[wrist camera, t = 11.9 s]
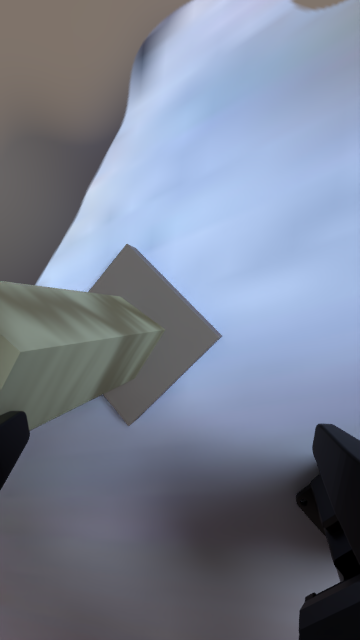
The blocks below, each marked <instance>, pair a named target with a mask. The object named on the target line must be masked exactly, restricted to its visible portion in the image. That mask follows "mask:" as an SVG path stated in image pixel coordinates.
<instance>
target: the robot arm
mask: <svg viewBox="0 0 360 640" xmlns="http://www.w3.org/2000/svg"><path fill="white" fill-rule="evenodd" d="M29 436H30V431H29V426H28V420H27V415H26V413H25V412H24V411H9V412H6V413H4V414H2V415H0V490H1V488H2V487H3V485H4V483H5V481H6V480H7V478H8V476H9V474H10V473H11V471H12V469H13V467H14V465H15V464H16V462H17V460H18V458H19V456H20V455H21V453H22V451H23V449H24V447H25V446H26V444H27V442H28V440H29ZM312 448H313V455H314V458H315V460H316V463H317V466H318V469H319V471H320V475H319V476H317V477H316V478H314V479H313V480H312V481H311V484H310V485H309V486H307V487H306V488H304V489H303V490H301V491H300V492H299V493H297V495H296V502H297V505H298V506H299V507H300V508H301V510H302V511H303V512H304V513H305V514H306V515H307V516H308V517H309V518H310V520H311V521H312V522H313V523H314V524H315V525H316V526H317V527H318V528H319V530H320V531H321V532H322V533H323V534H324V535H325V536H326V538H327V542H328V545H329V548H330V552H331V555H332V559H333V562H334V565H335V567H336V569H337V572H338V575H339V579H340V583H338V584H336V585H334V586H332V587H330V588H328V589H326V590H324V591H322V592H320V593H318V594H315V593H312V594H310V595H308V596H306V597H305V603H304V604H303V606H302V608H301V609H300V616H299V640H360V440H358V439H356V438H355V437H353V436H351V435H350V434H348V433H346V432H345V431H343V430H341V429H340V428H338V427H336V426H335V425H333V424H318V425H317V426H316V429H315V435H314V440H313V447H312ZM301 499H305V500H306V502H301V501H300V500H301Z"/></svg>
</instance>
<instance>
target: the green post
mask: <svg viewBox="0 0 360 640" xmlns="http://www.w3.org/2000/svg"><path fill="white" fill-rule="evenodd" d="M164 331H165V329H164V328H163V327H161V326H160V325H159V324H157V323H156V322H154V321H153V320H152V319H150V318H149V317H148V316H146V315H145V314H143V313H142V312H141V311H139V310H138V309H137V308H135V307H134V306H133V305H131V304H130V303H128V302H127V301H126V300H124V299H123V298H122V297H120V296H113V295H105V294H97V293H89V292H81V291H74V290H66V289H58V288H50V287H42V286H35V285H27V284H19V283H11V282H3V281H0V415H2V414H4V413H6V412H9V411H24V412H25V413H26V415H27V420H28V426H29V431H30V430H32V429H34V428H36V427H38V426H40V425H42V424H44V423H46V422H48V421H50V420H52V419H54V418H56V417H58V416H60V415H62V414H64V413H66V412H68V411H70V410H72V409H74V408H76V407H78V406H80V405H82V404H84V403H86V402H88V401H90V400H92V399H94V398H96V397H98V396H100V395H102V394H104V393H106V392H108V391H110V390H112V389H114V388H116V387H118V386H120V385H122V384H124V383H126V382H128V381H130V380H132V379H134V378H135V377H136V376H137V374H138V373H139V371H140V369H141V368H142V366H143V365H144V363H145V362H146V360H147V358H148V357H149V355H150V354H151V352H152V350H153V349H154V347H155V346H156V344H157V342H158V341H159V339H160V338H161V336H162V334H163V333H164Z"/></svg>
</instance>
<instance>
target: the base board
mask: <svg viewBox="0 0 360 640" xmlns="http://www.w3.org/2000/svg"><path fill="white" fill-rule="evenodd" d="M89 293H97V294H105V295H113V296H120V297H122V298H123V299H124V300H126V301H127V302H128V303H130V304H131V305H133V306H134V307H135V308H137V309H138V310H139V311H141V312H142V313H143V314H145V315H146V316H148V317H149V318H150V319H152V320H153V321H154V322H156V323H157V324H159V325H160V326H161V327H163V328H164V329H165V331H164V333H163V334H162V336H161V338H160V339H159V341H158V342H157V344H156V346H155V347H154V349H153V350H152V352H151V354H150V355H149V357H148V358H147V360H146V362H145V363H144V365H143V366H142V368H141V369H140V371H139V373H138V374H137V376H136V377H135V378H134V379H132V380H130V381H128V382H126V383H124V384H122V385H120V386H118V387H116V388H114V389H112V390H110V391H108V392H106V393H104V394H103V395H104V396H105V398H106V399H107V400H108V401H109V402H110V404H111V405H112V406H113V407H114V409H115V410H116V411H117V412H118V414H119V415H120V416H121V417H122V419H123V420H124V421H125V422H126V424H127V425H128V426H130V425H131V424H132V423H133V422H134V421H136V420H137V419H138V418H139V417H140V416H141V415H142V414H143V413H144V412H145V411H146V410H147V409H148V408H149V407H150V406H151V405H152V404H153V403H154V402H155V401H156V400H157V399H158V398H159V397H160V396H161V395H162V394H163V393H164V392H165V391H167V390H168V389H169V388H170V387H171V386H172V385H173V384H174V383H175V382H176V381H177V380H178V379H179V378H180V377H181V376H182V375H183V374H184V373H185V372H186V371H187V370H188V369H189V368H190V367H191V366H192V365H193V364H194V363H195V362H196V361H197V360H198V359H199V358H200V357H201V356H202V355H203V354H204V353H205V352H206V351H207V350H208V349H209V348H210V347H211V346H213V345H214V344H215V343H216V342H217V341H218V340H219V339H220V338H221V337H222V335H221V334H220V333H219V332H218V331H217V330H216V329H215V328H214V327H213V326H212V325H211V324H210V323H209V322H208V321H207V320H206V319H205V318H204V317H203V316H202V315H201V314H200V313H199V312H198V311H197V310H196V309H195V308H194V307H193V306H192V305H191V304H190V303H189V302H188V301H187V300H186V299H185V298H184V297H183V296H182V295H181V294H180V293H179V292H178V291H177V290H176V289H175V288H174V287H173V286H172V285H171V284H170V283H169V282H168V281H167V279H166V278H165V277H164V276H163V275H162V274H161V273H160V272H159V271H158V270H157V269H156V268H155V267H154V266H153V265H152V264H151V263H150V262H149V261H148V260H147V259H146V258H145V257H144V256H143V255H142V254H141V253H140V252H139V251H138V250H137V249H136V248H134V247H132V246H130V245H128V244H126V245H125V247H124V248H123V249H122V250H121V252H120V253H119V254H118V255H117V257H116V258H115V259H114V260H113V262H112V263H111V264H110V265H109V267H108V268H107V269H106V270H105V272H104V273H103V274H102V275H101V277H100V278H99V279H98V280H97V282H96V283H95V284H94V285H93V287H92V288H91V289H90V290H89Z"/></svg>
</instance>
